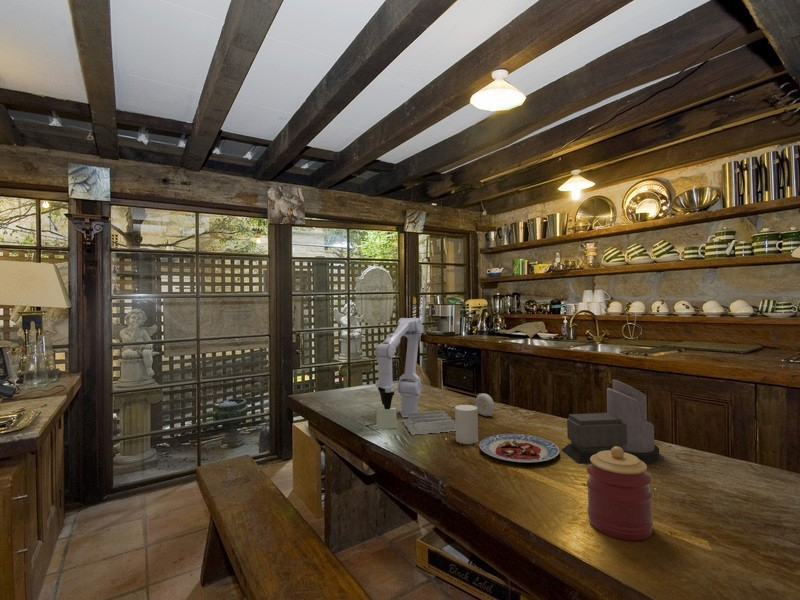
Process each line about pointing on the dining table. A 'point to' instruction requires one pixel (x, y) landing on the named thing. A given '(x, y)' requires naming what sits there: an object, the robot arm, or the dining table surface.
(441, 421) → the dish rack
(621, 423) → the grey napkin holder
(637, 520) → the canister
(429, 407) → the dining table surface
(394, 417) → the grey rectangular block
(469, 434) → the white cylinder
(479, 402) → the donut
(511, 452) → the ceramic plate
